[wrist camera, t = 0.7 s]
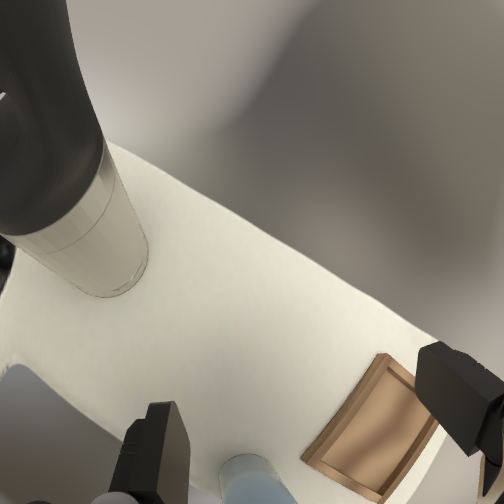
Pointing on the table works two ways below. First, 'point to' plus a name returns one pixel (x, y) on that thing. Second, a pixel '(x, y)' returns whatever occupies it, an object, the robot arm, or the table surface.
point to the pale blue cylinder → (252, 482)
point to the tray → (374, 433)
